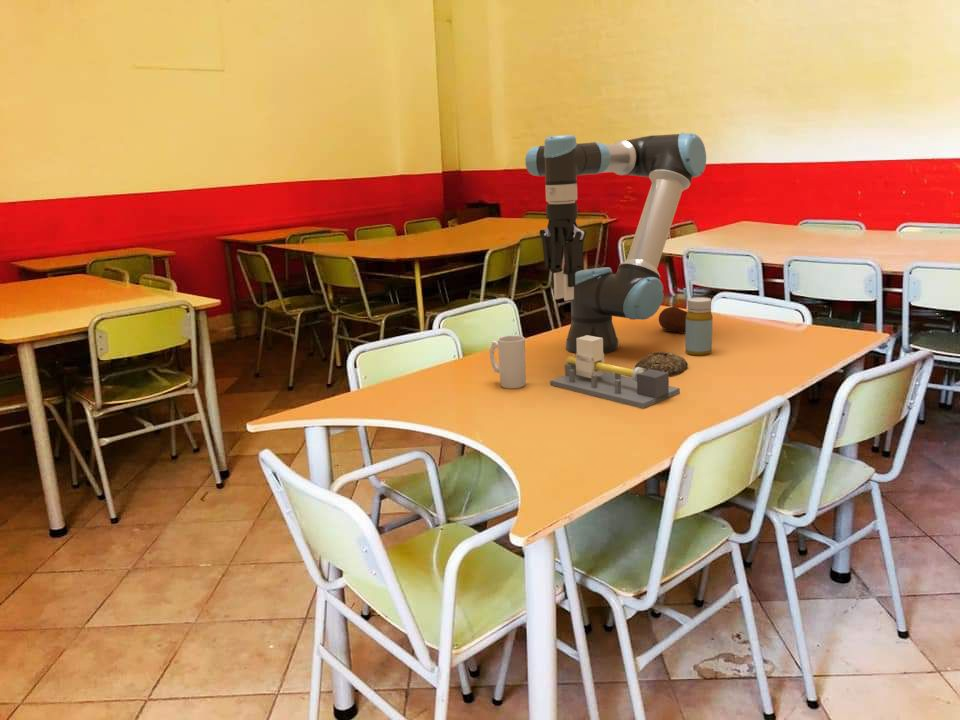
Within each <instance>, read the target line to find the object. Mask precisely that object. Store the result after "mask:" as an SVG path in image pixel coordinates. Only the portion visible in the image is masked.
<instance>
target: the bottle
mask: <svg viewBox="0 0 960 720" xmlns="http://www.w3.org/2000/svg"><path fill="white" fill-rule="evenodd" d="M686 312H687V315H686V333H685V336H684V337H685V341H684V344H685V347H684V349H685V353H687V355H690V356H695V355H700V356H699V357H701V356H708V355H710V354H711V353H712V351H713V349H712V348H713V321H714V320H713V319H714V318H713V316H714V315H713V314H712V299H711V298H710V297H690V298H687V311H686Z"/></svg>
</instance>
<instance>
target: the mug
mask: <svg viewBox="0 0 960 720" xmlns="http://www.w3.org/2000/svg"><path fill="white" fill-rule="evenodd" d="M525 342H526V338H525V337H524V336H522V335H505V336H500V337H498V338H497V339H496V340H492V341H491V345H490V349H489V360H490V363H491V366H492V369H493V372H494V373H499V381H500V386H501V387H502V388H503V389H510V390H511V389H512V390H513V389H520V388H523V387H525V386H526V383H527V382H526V379H527V378H526V343H525ZM496 348H497V354H498V355H497V356H498V364H497V362H496V360H495V359H496V358H495V354H494V353H495V350H496Z"/></svg>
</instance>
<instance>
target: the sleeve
mask: <svg viewBox="0 0 960 720" xmlns="http://www.w3.org/2000/svg"><path fill="white" fill-rule="evenodd" d="M576 344H577V353H575V357H576V375H579V376H583V377H588V378H591V375H593V374H595V375H597V376H600V375H603V374H604V372H605V371H602V370H597V369H594V362H600V363H604V364H605V353H603V338H600V337H595V336H589V335H586V336H583V337H579V338H576Z"/></svg>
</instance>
